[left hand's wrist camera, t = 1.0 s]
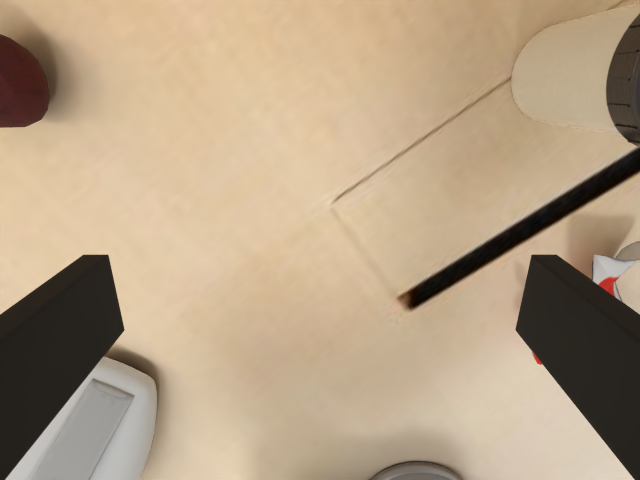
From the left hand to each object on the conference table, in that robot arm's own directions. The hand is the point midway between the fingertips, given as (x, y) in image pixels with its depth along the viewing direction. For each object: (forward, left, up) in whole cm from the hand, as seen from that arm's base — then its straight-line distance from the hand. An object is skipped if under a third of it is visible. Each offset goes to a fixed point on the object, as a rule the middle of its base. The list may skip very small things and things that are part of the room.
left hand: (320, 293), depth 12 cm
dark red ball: (+6, +27, -28) cm, 39 cm away
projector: (-34, +29, -28) cm, 53 cm away
